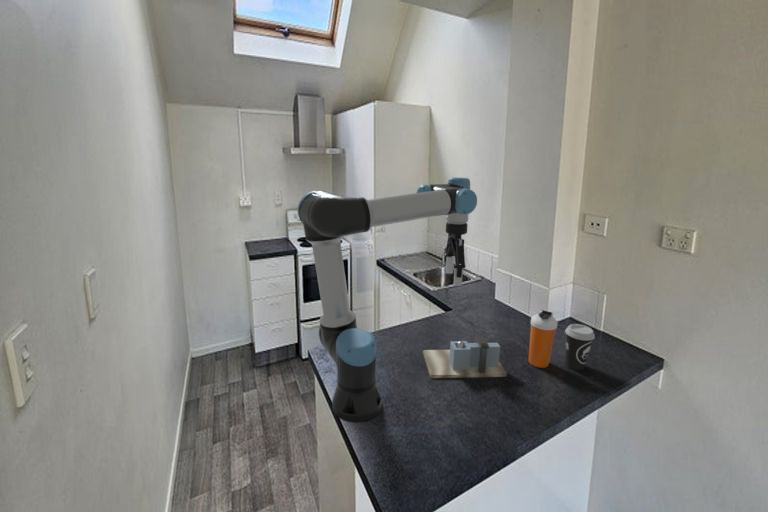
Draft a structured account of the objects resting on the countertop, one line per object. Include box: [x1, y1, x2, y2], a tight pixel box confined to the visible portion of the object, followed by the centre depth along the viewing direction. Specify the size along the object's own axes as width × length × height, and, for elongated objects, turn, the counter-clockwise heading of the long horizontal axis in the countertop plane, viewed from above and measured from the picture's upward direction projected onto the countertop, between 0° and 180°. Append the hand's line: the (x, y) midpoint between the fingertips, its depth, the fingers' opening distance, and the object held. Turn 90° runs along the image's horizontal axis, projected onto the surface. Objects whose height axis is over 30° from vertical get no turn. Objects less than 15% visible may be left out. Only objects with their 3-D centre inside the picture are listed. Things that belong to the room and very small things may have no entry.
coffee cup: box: [564, 323, 596, 371], centre depth 136 cm, size 10×10×15 cm
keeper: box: [474, 335, 489, 373], centre depth 132 cm, size 3×7×12 cm, turn 3°
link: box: [449, 340, 501, 370], centre depth 134 cm, size 17×6×8 cm, turn 93°
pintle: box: [457, 340, 464, 348], centre depth 134 cm, size 2×2×10 cm
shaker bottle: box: [528, 309, 558, 369], centre depth 137 cm, size 9×9×20 cm
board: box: [422, 349, 508, 379], centre depth 138 cm, size 27×17×1 cm, turn 93°
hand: (453, 279), depth 137 cm, fingers open, 13 cm apart
